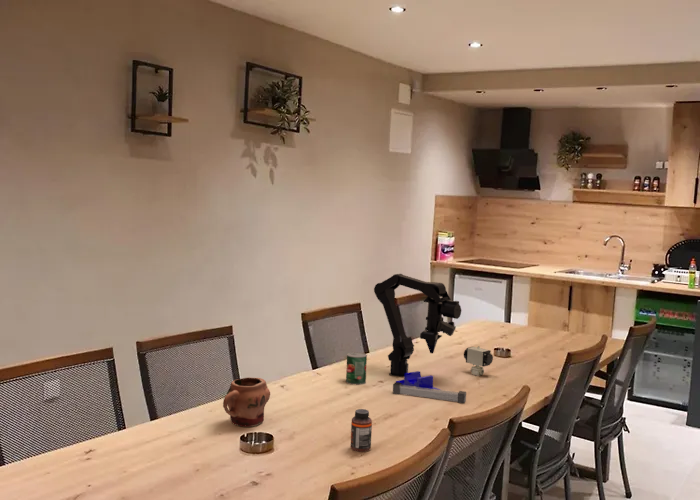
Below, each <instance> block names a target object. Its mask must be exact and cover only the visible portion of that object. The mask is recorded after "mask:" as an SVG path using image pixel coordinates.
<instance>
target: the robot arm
mask: <svg viewBox="0 0 700 500" xmlns="http://www.w3.org/2000/svg"><path fill="white" fill-rule="evenodd" d="M400 286H403V287H406V288H408V289H412V290H415V291H418V292H421V293H422V294H423V295H425V296H426V298H425V299H423V303H428V304H427V312H426V313H427V316H426V317H425V320H426V326H425V327H424V330H423V331H421V333H419V339H421V340H424V341H425V342H426V346H427V349H428V351H429V354H434V353H435V349H436V346H437V343H438V341H439V340H440V338H442V337H443V335H442V334H440V333H443V334H446V335H447V336H449V337H452V336H453V335H454V333H455V330H456V329H457V328H456V326H455V322H454V321H452V320H450V321H449V322H446V321H444V317H445V318H450V319H454V320H458V319H460V317H461V314H462V307H461V305H460V301H458V300H452V299H451V297H450V296H449V293H448V291H447V288H446V286H445V284H444V283H443V282H437V281H424V280H421V279H418V278H415V277H411V276H407V275H405V274H403V273H396V274H392V275H391V276H390V277H389V278H387V279H385V280H383V281H382V282H378V283H376V284H375V286H374V287H373V293H374V295H375V296H376V299H377V300H378V301H379V302H380V303H381V305H382V306H383V309H384V312H385V313H384V314H385V316H386V319H387V322H388V325H389V328H390V332H391V334H392V337H393V338H392V351H391V352H390V353H389V354H387V357H388V361H390V372H389V373H388V375H389V376H394V377H401V378H402V377H403V378H404V373H409V363H408V360H409V359H411V356H412V355H413V354H414V352H415V348H414V347H415V345H414V343H413V338H412V337H411V336H407V335H406V333H405V330H404V327H403V324H402V321H401V318H400V316H399V313H398V310H397V305H396V303H395V297H396V292H395V290H396V289H397V288H399V287H400Z"/></svg>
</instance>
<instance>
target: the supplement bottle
mask: <svg viewBox="0 0 700 500" xmlns="http://www.w3.org/2000/svg"><path fill="white" fill-rule="evenodd" d="M372 423H373V420H372V418H371V417H370V411H369V410H368V409H366V408H365V409H364V408H358V409H355V411H354V416H353V417H352V418H351V425H350V426H351V427H350V449H351V450H352V451H355V452H359V453H363V452H365V453H366V452H368V451H370V450H371V449H372V448H371V447H372V434H373V433H372V429H373V424H372Z"/></svg>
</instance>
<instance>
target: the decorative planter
mask: <svg viewBox="0 0 700 500" xmlns="http://www.w3.org/2000/svg"><path fill="white" fill-rule="evenodd" d="M270 398H271V391H270V389H269V388H268V385H267V382H266V380H265V379H263V378H261V377H244V378H238V379H234V380H232V381H231V383H230V385H229V388H228V390H227V392H226V395H224V398H223V403H222V407H223V409H224V411H225V413H226V414H228V415H229V417H230V421H231V424H233V423H234V424H233V425H235V424H236V425H235V426H237V425H240V426H239V427H243V426H244V427H247V428H248V427H254V426H258V425H261V424H262V423H263V422H264V421H265V407H266V404H267V403H268V402H269V400H270Z"/></svg>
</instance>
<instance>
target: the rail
mask: <svg viewBox="0 0 700 500" xmlns="http://www.w3.org/2000/svg"><path fill="white" fill-rule="evenodd" d="M392 395H403V396H404V395H405V396H411V397H412V396H413V397H420V398H426V399H434V400H441V401H448V402H454V403H458V404H466V402H467V391H465V390H459V391H452V390H445V389H444V390H443V389H440V390H437V389H430V388H423V387H415V386H408V385H402V383H397V382H396V381H395V382H394V383H393V384H392Z"/></svg>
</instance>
